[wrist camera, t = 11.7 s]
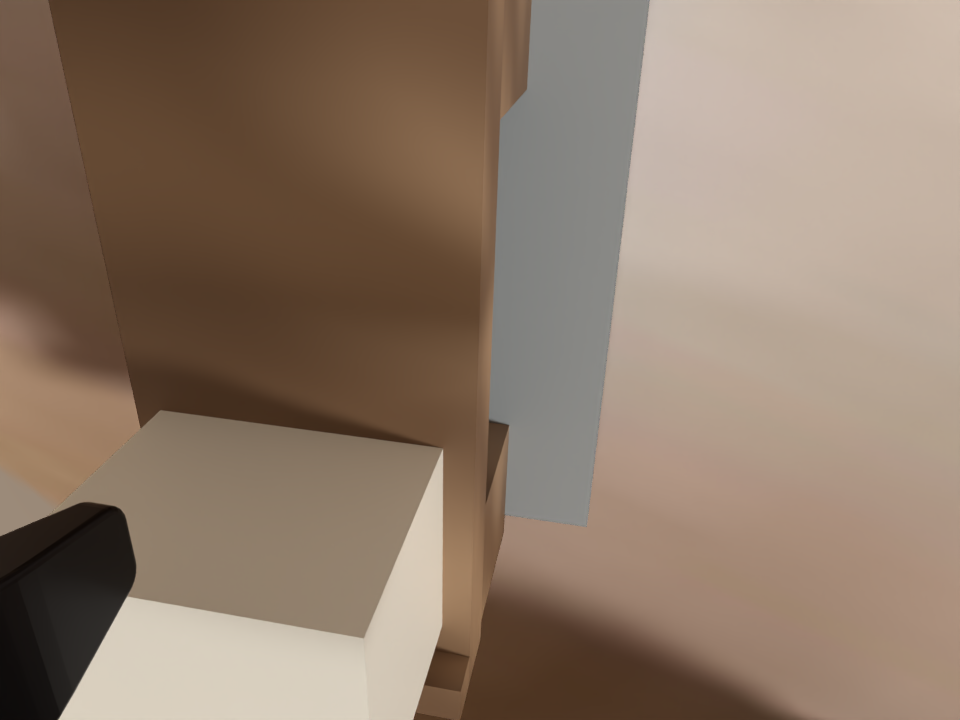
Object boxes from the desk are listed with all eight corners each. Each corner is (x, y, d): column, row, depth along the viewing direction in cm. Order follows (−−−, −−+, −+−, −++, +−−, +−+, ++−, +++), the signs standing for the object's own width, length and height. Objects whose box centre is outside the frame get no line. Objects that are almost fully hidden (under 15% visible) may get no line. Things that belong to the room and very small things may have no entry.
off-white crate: (441, 625, 14) (376, 839, 11) (194, 583, 15) (60, 770, 12) (442, 448, 13) (364, 638, 9) (160, 410, 13) (-12, 572, 10)
